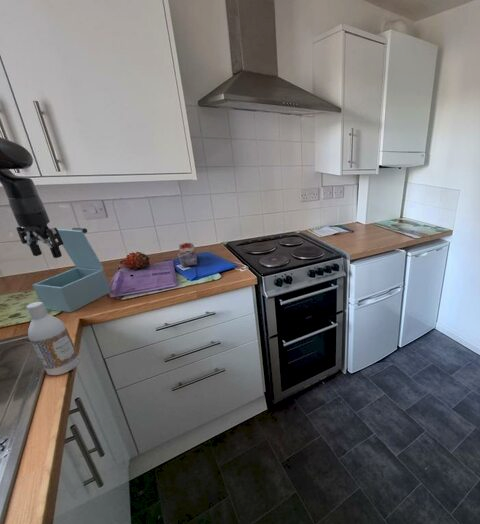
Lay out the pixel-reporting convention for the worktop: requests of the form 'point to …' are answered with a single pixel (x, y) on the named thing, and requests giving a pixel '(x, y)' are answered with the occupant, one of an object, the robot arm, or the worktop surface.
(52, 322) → the bath foam
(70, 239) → the lid
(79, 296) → the light blue storage bin
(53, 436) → the worktop surface
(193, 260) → the food item
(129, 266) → the dragon fruit
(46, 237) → the robot arm
